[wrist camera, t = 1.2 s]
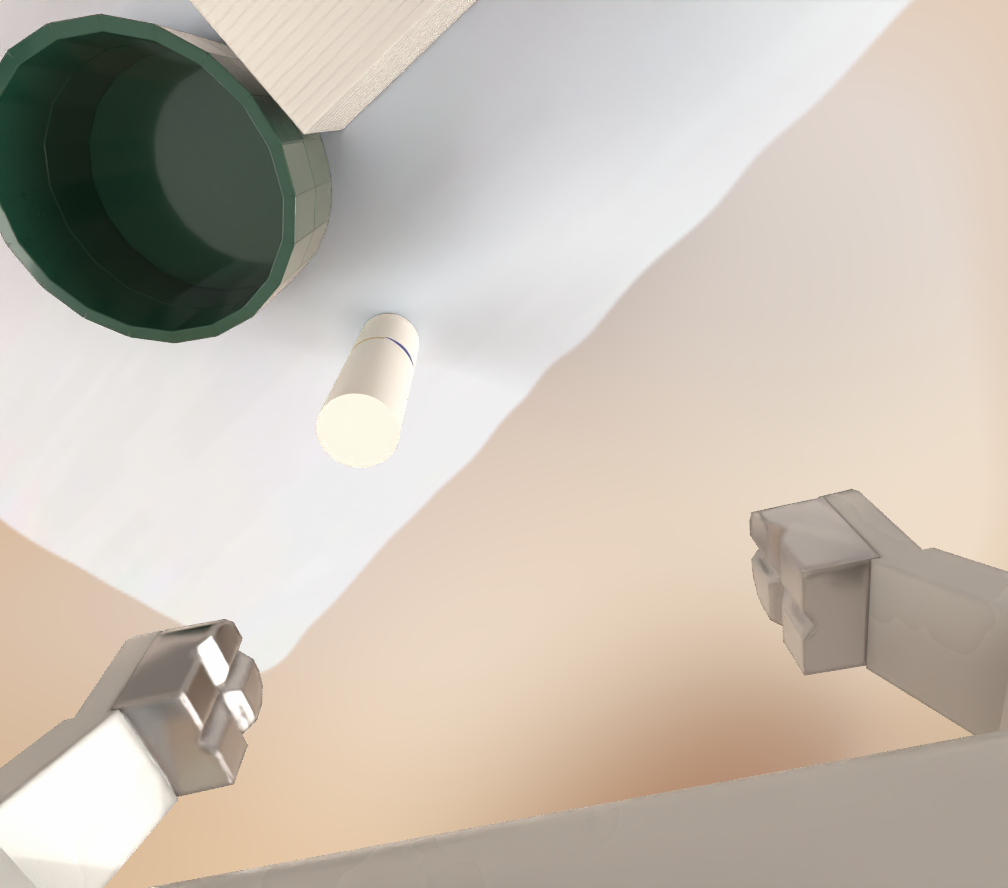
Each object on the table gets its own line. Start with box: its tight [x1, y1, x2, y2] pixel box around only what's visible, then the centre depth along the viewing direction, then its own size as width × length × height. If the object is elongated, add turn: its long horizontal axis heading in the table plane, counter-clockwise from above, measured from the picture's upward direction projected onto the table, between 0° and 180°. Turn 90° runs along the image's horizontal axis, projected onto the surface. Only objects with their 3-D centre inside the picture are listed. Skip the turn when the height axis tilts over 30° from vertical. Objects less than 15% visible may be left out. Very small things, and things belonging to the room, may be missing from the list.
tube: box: [316, 314, 419, 468], centre depth 41 cm, size 4×4×15 cm
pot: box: [0, 14, 332, 343], centre depth 38 cm, size 15×15×10 cm
